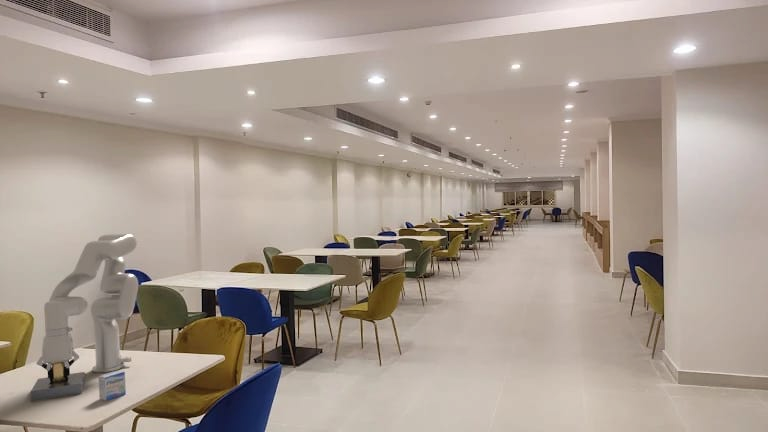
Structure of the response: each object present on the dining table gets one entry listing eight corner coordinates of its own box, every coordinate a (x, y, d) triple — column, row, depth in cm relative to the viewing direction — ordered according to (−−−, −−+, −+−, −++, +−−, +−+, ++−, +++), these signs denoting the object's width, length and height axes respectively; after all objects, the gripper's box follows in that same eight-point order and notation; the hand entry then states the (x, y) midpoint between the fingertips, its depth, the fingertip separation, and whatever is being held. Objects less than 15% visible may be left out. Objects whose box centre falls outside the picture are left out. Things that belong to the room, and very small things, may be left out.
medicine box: (105, 401, 188) (104, 377, 188) (99, 399, 190) (97, 375, 190) (126, 394, 194) (125, 371, 194) (119, 392, 197) (118, 369, 197)
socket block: (84, 381, 211) (84, 371, 211) (81, 393, 196) (80, 383, 196) (38, 388, 204) (38, 378, 204) (31, 401, 189) (30, 391, 189)
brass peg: (66, 385, 203) (65, 360, 203) (65, 388, 199) (64, 363, 199) (53, 387, 201) (52, 361, 201) (52, 390, 197) (50, 364, 197)
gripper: (82, 327, 207) (84, 372, 207) (32, 333, 199) (34, 379, 200) (81, 331, 200) (83, 377, 200) (29, 337, 193) (31, 385, 193)
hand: (59, 378), depth 200 cm, fingers closed on brass peg, 4 cm apart
